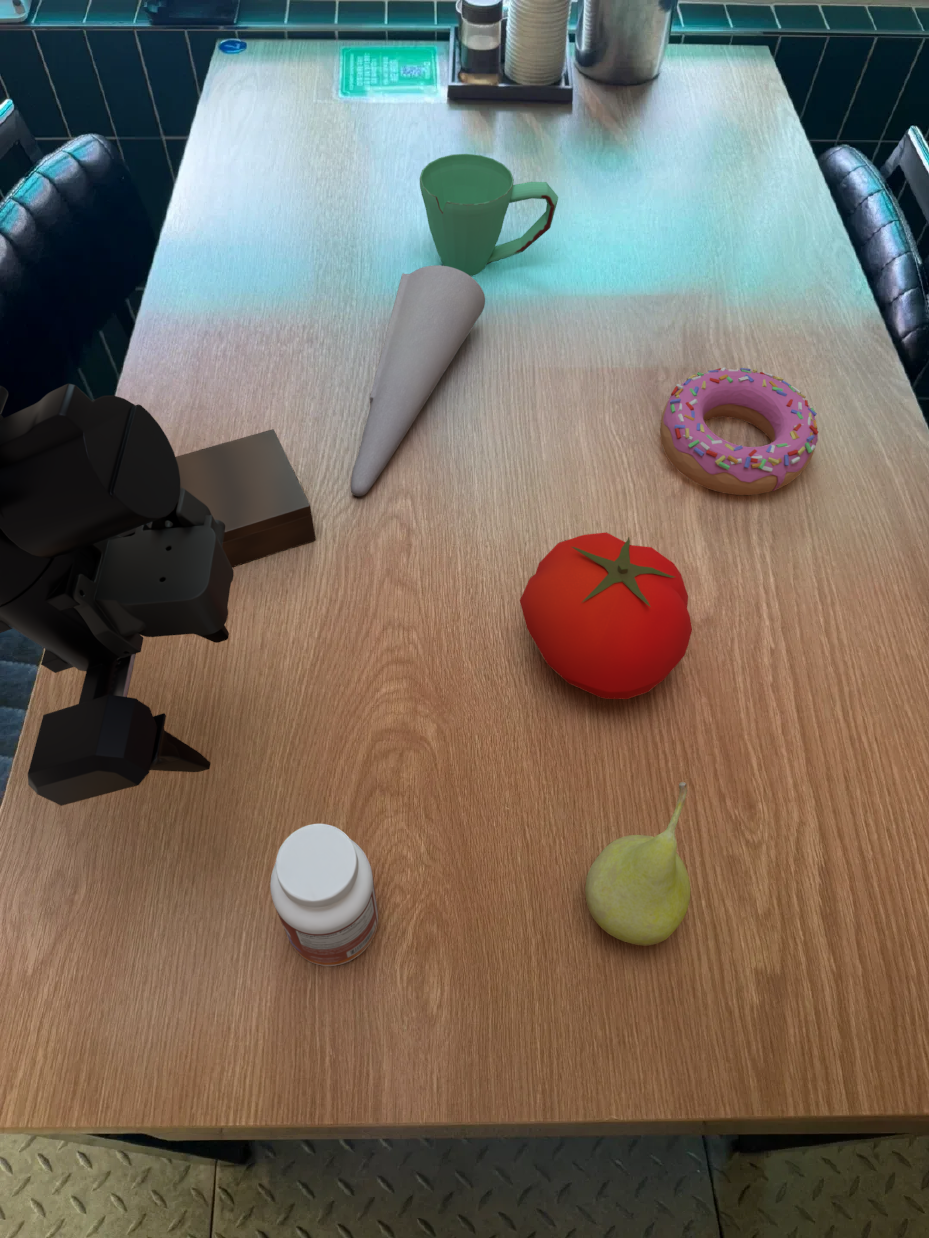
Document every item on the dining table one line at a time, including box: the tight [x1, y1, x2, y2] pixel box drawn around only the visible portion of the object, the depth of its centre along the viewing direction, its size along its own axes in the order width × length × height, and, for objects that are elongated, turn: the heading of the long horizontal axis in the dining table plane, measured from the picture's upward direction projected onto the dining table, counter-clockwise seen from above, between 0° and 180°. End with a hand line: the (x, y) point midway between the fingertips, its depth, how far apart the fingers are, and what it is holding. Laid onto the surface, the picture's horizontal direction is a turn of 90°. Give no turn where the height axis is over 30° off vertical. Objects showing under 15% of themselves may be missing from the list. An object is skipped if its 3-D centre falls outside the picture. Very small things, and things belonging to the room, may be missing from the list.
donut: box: [659, 366, 819, 496], centre depth 88 cm, size 14×14×5 cm
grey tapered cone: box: [350, 264, 486, 497], centre depth 91 cm, size 8×9×26 cm
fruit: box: [584, 781, 692, 947], centre depth 60 cm, size 7×8×12 cm
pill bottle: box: [269, 823, 379, 967], centre depth 59 cm, size 6×6×11 cm
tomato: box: [519, 531, 693, 700], centre depth 72 cm, size 13×12×11 cm
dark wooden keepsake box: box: [175, 428, 317, 568], centre depth 82 cm, size 12×10×4 cm
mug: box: [419, 153, 559, 277], centre depth 103 cm, size 15×10×10 cm
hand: (214, 700), depth 59 cm, fingers open, 9 cm apart
